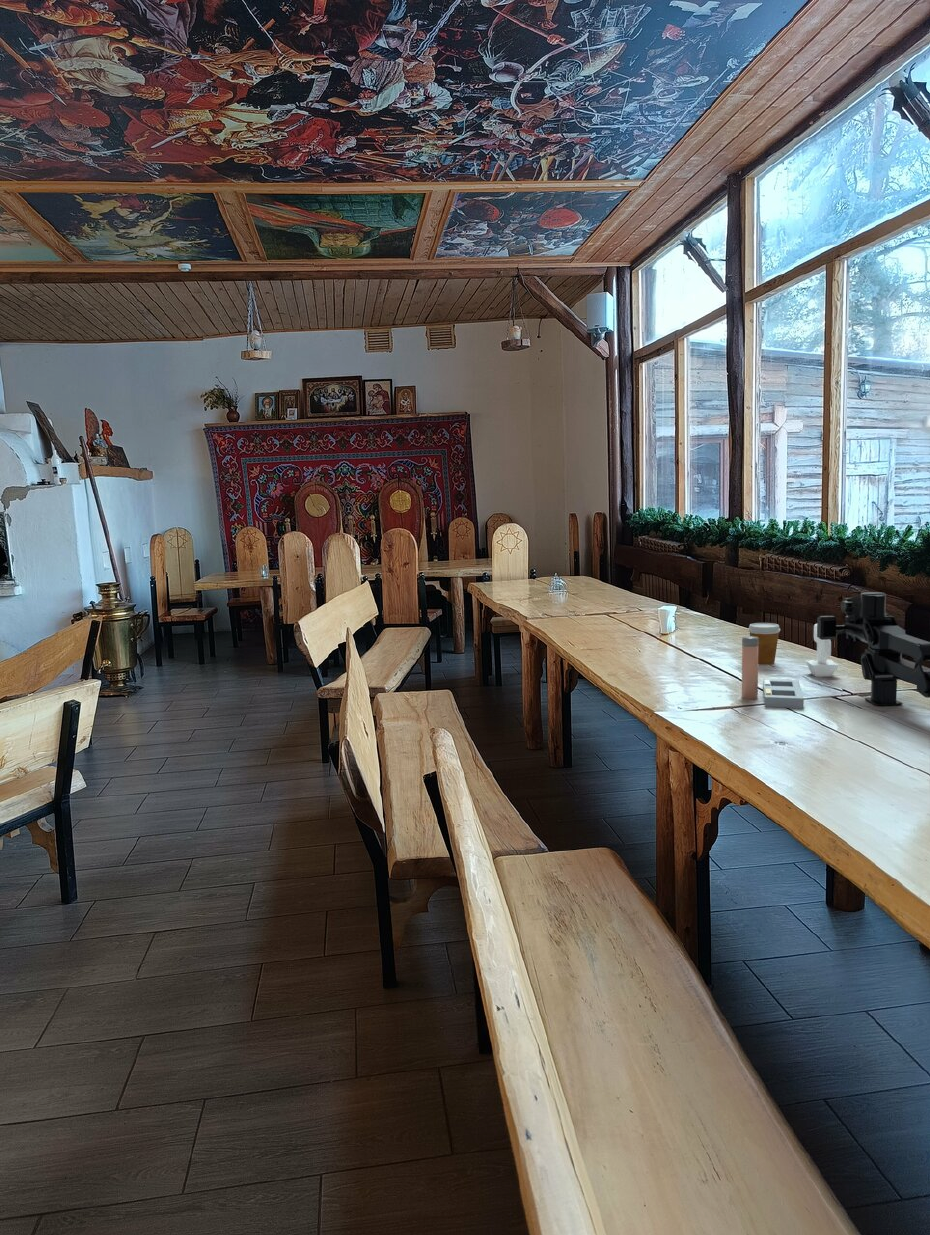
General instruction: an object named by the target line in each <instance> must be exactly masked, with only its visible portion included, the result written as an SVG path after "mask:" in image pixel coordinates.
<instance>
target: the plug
mask: <svg viewBox="0 0 930 1235" xmlns="http://www.w3.org/2000/svg"><path fill="white" fill-rule="evenodd" d="M758 691H759V664H758V637H753V636H750V635H749V636H748V635H747V636H742V637H741V698H742V699H745V700H756V699H758V698H759V696H758V695H759V694H758V693H759V692H758Z"/></svg>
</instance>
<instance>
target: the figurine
mask: <svg viewBox="0 0 930 1235" xmlns="http://www.w3.org/2000/svg"><path fill="white" fill-rule="evenodd" d="M813 641H814V642H815V643H816V659H804V662H805V663H806V666H807V667H808V670H809V671H810V674H811V675H813V676H815V677H819V678H820V677H833V675H834V674H835V672H836V671H837V669H838V667H839V665H840V664H839V663H837V662H835V661H833V660H832V659H828V658H829V657H831V656H832V641H831V639H829V640H821V639H819V638H818V637H817V623H815V624H813Z"/></svg>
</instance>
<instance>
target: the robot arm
mask: <svg viewBox="0 0 930 1235" xmlns="http://www.w3.org/2000/svg"><path fill="white" fill-rule="evenodd" d="M886 604H887V594H886V593H885V592H877V591H872V592H871V591H870V592H869V591H868V592H861V593H860V596H859V595H858V596H852V597H849V598H848V597H847V598H846V597H845V598H844V600H842V601H841V602H840V609H841V612H842V614H843V613H845V615H846V616H844V617H845V618H844V621H845V623H844V624H837V618H836V616H834V615H820V616H818V617H817V618H816V619H817V620H816V621H817V622H816V624H817V637H818V638H819V639H821V640H829V639H830V640H835V639H836V637H837V635H843V634H844V635H845V634H846V639H847V640H848V639H852V640H853V642H864V643H866V644H868V648H866V649H864V653H862V654H861V657H860V664H861V671H862V672H861V674H862V677H863V679H864V680H867V681H871V682H870V683H871V684H870V685H871V686H870V696H869V697H867V696H866V697H865V698H864V700H865V701H867V702H869V703H870V704H873V705H874V706H878V707H879V706H901V705H903V704H904V703H903V702H902V701H899V700H897V695H898V694H897V691H898V681H901V680H903V681H905V682H908V683H910V684H912V685H915V686H916V692H918V693H919V694H920V695H921V696H923V697H924V698H930V668H929V667H927V666H924V665H923V662H927V661H929V662H930V641H927V640H924V639H920V638H919V637H916V636H915V637H914V636H912V635H909V634H907V633H906V629H904V628H902V627H901V625H900V623H899V622H898V620H897V617H896V616H895V615H893V616H892V615H890V614H889V613H886ZM902 655H904V656H907V657H911V658H913V660H914V661H910V660H908V659H905V658H903V657H902Z"/></svg>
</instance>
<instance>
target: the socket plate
mask: <svg viewBox="0 0 930 1235" xmlns="http://www.w3.org/2000/svg"><path fill="white" fill-rule="evenodd" d="M800 684H801V683H800V680H799V679H780V678H779V679H775V678H772V679H771V678H763V680H762V690H763V699H764V700H763V703H764V708H765V707H766V708H791V709H804V707H805V706H804V704H805V702H804V701H805V700H804V699H805V698H804V694H803V691H802V688H801V685H800Z"/></svg>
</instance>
